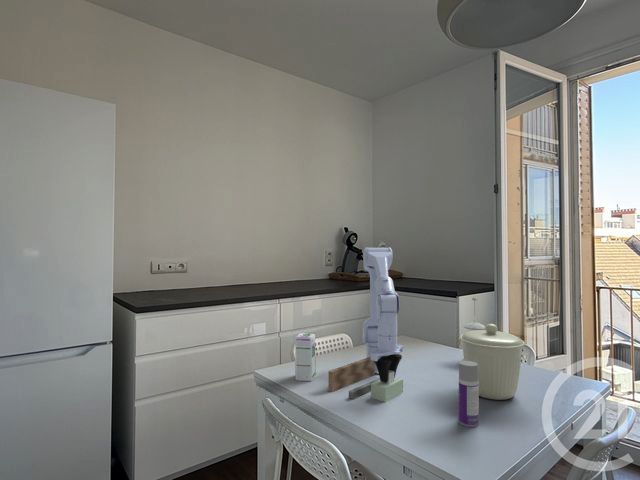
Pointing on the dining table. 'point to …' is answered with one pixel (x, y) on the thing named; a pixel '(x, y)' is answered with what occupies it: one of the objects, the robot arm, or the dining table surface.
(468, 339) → the canister
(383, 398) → the mint block with knob
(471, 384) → the container
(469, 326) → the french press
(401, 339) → the dining table surface
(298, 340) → the syrup box
